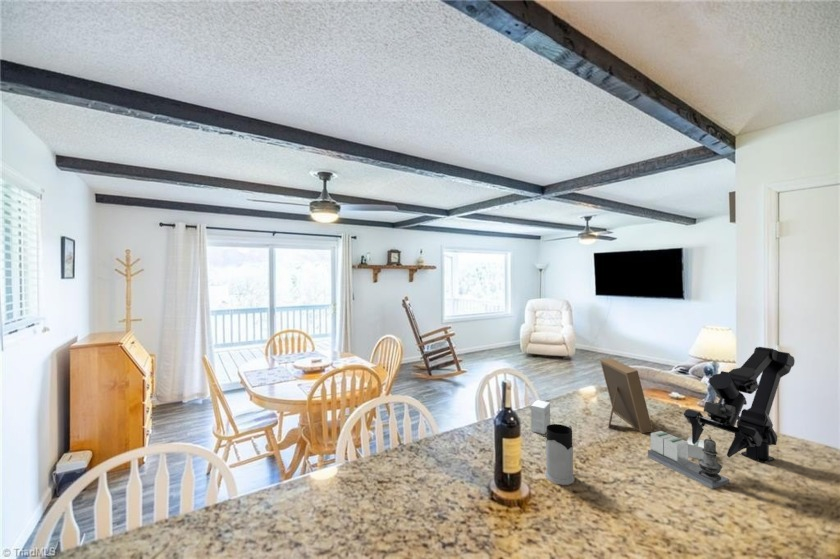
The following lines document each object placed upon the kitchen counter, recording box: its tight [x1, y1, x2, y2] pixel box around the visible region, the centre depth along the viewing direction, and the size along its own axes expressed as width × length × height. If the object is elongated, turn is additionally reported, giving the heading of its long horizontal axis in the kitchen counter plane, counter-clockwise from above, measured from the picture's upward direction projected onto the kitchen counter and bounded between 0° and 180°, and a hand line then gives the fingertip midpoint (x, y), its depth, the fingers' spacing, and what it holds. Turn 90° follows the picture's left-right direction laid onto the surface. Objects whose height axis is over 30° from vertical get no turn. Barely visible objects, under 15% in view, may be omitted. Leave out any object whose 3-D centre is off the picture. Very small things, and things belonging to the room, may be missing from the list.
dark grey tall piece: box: [697, 436, 723, 480], centre depth 111 cm, size 6×6×12 cm
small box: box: [530, 399, 551, 435], centre depth 148 cm, size 8×6×10 cm
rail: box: [647, 430, 730, 490], centre depth 117 cm, size 8×20×8 cm, turn 21°
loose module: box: [686, 436, 705, 460], centre depth 127 cm, size 7×5×5 cm
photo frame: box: [599, 357, 653, 434], centre depth 154 cm, size 15×22×25 cm
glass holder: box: [544, 423, 575, 486], centre depth 116 cm, size 9×14×15 cm, turn 137°
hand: (710, 449), depth 112 cm, fingers open, 9 cm apart
